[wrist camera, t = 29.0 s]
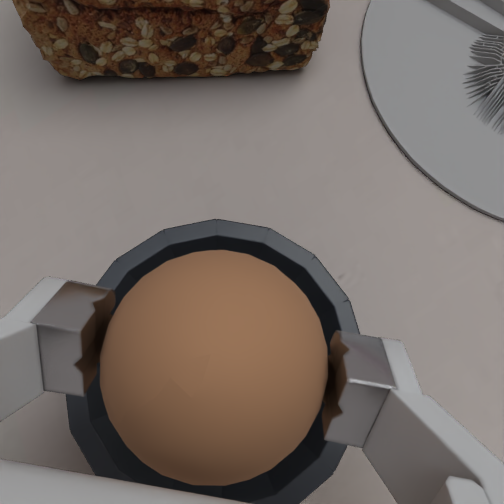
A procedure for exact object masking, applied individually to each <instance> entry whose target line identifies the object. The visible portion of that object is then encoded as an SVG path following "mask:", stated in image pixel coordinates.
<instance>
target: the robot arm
mask: <svg viewBox="0 0 504 504" xmlns="http://www.w3.org/2000/svg"><path fill="white" fill-rule="evenodd" d="M115 305H116V298H115V291H114V290H113V289H111V288H106V287H101V286H96V285H91V284H87V283H82V282H77V281H72V280H71V281H69V280H66V279H61V278H56V277H51V276H49V277H45V278H43V279H42V280H41V281H40V282H39V283H38V284H37V285H36V286H35V287H34V288H33V289H32V290H31V291H30V292H29V293H28V294H27V295H26V296H25V297H24V298H23V299H22V300H21V301H20V302H19V303H18V304H17V305H16V306H15V307H14V308H13V309H12V310H11V311H10V312H9V313H8V314H7V315H6V316H5V317H3V318H0V422H1V421H2V420H4V419H5V418H7V417H8V416H10V415H11V414H13V413H14V412H16V411H17V410H19V409H20V408H22V407H23V406H25V405H26V404H28V403H29V402H31V401H32V400H34V399H35V398H37V397H38V396H40V395H41V394H43V393H44V391H49V392H56V393H62V394H69V395H76V396H82V397H84V395H85V394H86V392H87V390H88V388H89V387H90V385H91V383H92V381H93V379H94V378H95V376H96V374H97V363H99V362H100V353H101V350H102V346H103V343H104V339H105V335H106V332H107V328H108V325H109V323H110V321H111V319H112V317H113V315H112V314H111V311H112V309H113V308H114V306H115ZM330 349H331V354H330V355H328V379H327V383H326V388H325V392H324V396H323V400H322V401H323V402H324V404H325V406H324V409H323V412H322V424H323V434H324V440H326V441H331V442H336V443H340V444H345V445H350V446H355V447H360V448H363V449H362V451H363V452H364V454H365V455H366V457H367V458H368V460H369V461H370V463H371V464H372V466H373V467H374V469H375V470H376V472H377V473H378V475H379V476H380V478H381V479H382V481H383V482H384V484H385V485H386V487H387V488H388V490H389V491H390V493H391V494H392V496H393V497H394V499H395V500H396V502H397V503H398V504H504V463H503V462H502V461H501V460H500V459H499V458H498V457H496V456H495V455H494V454H493V453H492V452H491V451H490V450H489V449H488V448H487V447H485V446H484V445H483V444H482V443H481V442H480V441H479V440H478V439H477V438H476V437H475V436H473V435H472V434H471V433H470V432H469V431H468V430H467V429H466V428H465V427H464V426H462V425H461V424H460V423H459V422H458V421H457V420H456V419H455V418H454V417H453V416H452V415H450V414H449V413H448V412H447V411H446V410H445V409H444V408H443V407H442V406H441V405H439V404H438V403H437V402H436V401H435V400H434V399H433V398H432V397H431V396H428V395H423V393H422V390H421V387H420V385H419V382H418V380H417V377H416V374H415V372H414V369H413V367H412V364H411V361H410V359H409V356H408V354H407V351H406V348H405V346H404V343H403V342H401V341H400V340H395V339H388V338H382V337H378V338H377V337H371V336H366V335H360V334H355V333H349V332H344V331H338V330H336V331H335V332H334V334H333V336H332V339H331V342H330ZM0 504H251V503H246V502H240V501H235V500H229V499H223V498H218V497H212V496H207V495H201V494H195V493H190V492H184V491H179V490H173V489H168V488H162V487H156V486H151V485H145V484H140V483H134V482H128V481H123V480H117V479H112V478H106V477H100V476H95V475H89V474H84V473H78V472H72V471H67V470H61V469H56V468H50V467H44V466H39V465H33V464H28V463H22V462H16V461H11V460H5V459H0Z"/></svg>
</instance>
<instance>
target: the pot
mask: <svg viewBox="0 0 504 504" xmlns="http://www.w3.org/2000/svg"><path fill="white" fill-rule="evenodd" d="M208 250H227V251H233V252H238V253H244V254H249V255H251V256H254V257H256V258H258V259H260V260H262V261H265V262H267V263H269V264H271V265H274V266H275V267H276V268H277V269H279V270H280V271H281V272H282V273H283V274H284V275H286V276H287V277H288V278H289V279H290V280H292V281H293V282H294V283H295V284H296V285H297V286H298V287H299V288H300V289H301V291H302V292H303V293H304V294H305V295H306V296H307V298H308V300H309V302H310V303H311V305H312V307H313V309H314V310H315V312H316V314H317V316H318V317H319V319H320V323H321V327H322V330H323V334H324V338H325V341H326V345H327V356H328V355H330V354H331V349H330V342H331V339H332V336H333V334H334V332H335V331H336V330H338V331H344V332H349V333H355V334H360V332H359V329H358V325H357V322H356V319H355V316H354V312H353V309H352V306H351V302H350V301H349V300H348V299H349V298H348V297H347V295H346V294H345V293H344V292H343V290H342V289H341V288H340V286H339V285H338V284H337V283H336V281H335V280H334V279H333V277H332V276H331V275H330V274H329V272H328V271H327V270H326V268H325V267H324V266H323V265H322V263H321V262H320V261H319V260H318V258H317V257H316V256H315V255H314V254H312V253H311V252H309V251H307V250H306V249H304V248H302V247H301V246H299V245H297V244H296V243H294V242H292V241H291V240H289V239H287V238H286V237H284V236H282V235H281V234H279V233H277V232H276V231H274V230H272V229H271V228H267V227H262V226H256V225H250V224H244V223H238V222H232V221H226V220H221V219H217V220H216V219H212V220H207V221H203V222H198V223H193V224H188V225H183V226H178V227H173V228H168V229H164V230H162V231H160V232H158V233H157V234H155V235H154V236H152V237H150V238H149V239H147V240H146V241H144V242H143V243H141V244H139V245H138V246H136V247H135V248H133V249H132V250H130V251H128V252H127V253H125V254H124V255H122V256H120V257H119V258H117V259H116V260H115V261H114V262H113V263H112V264H111V266H110V267H109V268H108V270H107V271H106V272H105V274H104V275H103V276H102V278H101V279H100V280H99V282H98V283H97V284H96V286H101V287H106V288H111V289H113V290H114V291H115V298H116V305H115V306H114V308H113V309H112V311H111V314H112V315H114V313H115V311H116V309H117V307H118V306H119V304H120V302H121V301H122V299H123V297H124V296H125V295H126V294H127V293H128V292H129V291H130V290H131V289H132V288H133V287H134V286H135V284H136V283H137V282H138V281H139V280H140V279H141V278H142V277H143V276H145V275H146V274H148V273H149V272H151V271H152V270H154V269H156V268H157V267H159V266H160V265H162V264H163V263H165V262H166V261H169V260H172V259H175V258H178V257H181V256H184V255H187V254H190V253H193V252H200V251H208ZM66 401H67V410H68V419H69V427H70V430H71V434H72V435H73V437H74V439H75V440H76V442H77V444H78V446H79V447H80V449H81V451H82V453H83V454H84V456H85V458H86V459H87V461H88V463H89V465H90V466H91V468H92V470H93V472H94V473H95V475H96V476H100V477H106V478H112V479H117V480H123V481H128V482H134V483H140V484H145V485H151V486H156V487H162V488H168V489H173V490H179V491H184V492H190V493H195V494H201V495H207V496H212V497H218V498H223V499H229V500H235V501H240V502H246V503H251V504H299V503H301V502H302V501H303V500H304V499H305V498H306V497H307V496H309V495H310V494H311V493H312V492H313V491H314V490H315V489H317V488H318V487H319V486H320V485H321V484H322V483H323V482H325V481H326V480H327V479H328V478H329V477H330V476H331V475H333V472H334V471H335V470H336V468H337V466H338V464H339V462H340V460H341V458H342V456H343V454H344V452H345V450H346V447H347V445H345V444H340V443H336V442H331V441H326V440H324V434H323V424H322V412H323V409H324V406H325V404H324V402H323V401H322V404H321V408H320V410H319V412H318V414H317V416H316V418H315V420H314V422H313V424H312V425H311V427H310V429H309V431H308V433H307V435H306V437H305V438H304V439H303V440H302V441H301V443H300V444H299V445H298V446H297V447H296V448H295V450H294V451H293V452H291V453H290V454H289V455H288V456H286V457H285V458H284V459H283V460H282V461H280V462H279V463H278V464H277V465H276V466H274V467H273V468H272V469H271V470H269V471H266V472H264V473H262V474H260V475H258V476H256V477H254V478H251V479H249V480H246V481H242V482H238V483H234V484H230V485H226V486H217V485H191V484H188V483H185V482H182V481H179V480H176V479H173V478H169V477H166V476H163V475H161V474H160V473H158V472H157V471H155V470H154V469H152V468H151V467H149V466H148V465H146V464H145V463H143V462H142V461H141V460H140V459H139V458H138V457H137V456H136V455H135V454H134V453H133V452H132V451H131V450H130V449H129V448H128V447H127V446H126V444H125V443H124V441H123V440H122V438H121V437H120V435H119V434H118V432H117V430H116V429H115V427H114V426H113V424H112V423H111V421H110V420H109V416H108V413H107V410H106V407H105V404H104V401H103V397H102V392H101V388H100V362H99V363H97V374H96V376H95V378H94V379H93V381H92V383H91V385H90V387H89V388H88V390H87V392H86V394H85V395H84V397H82V396H76V395H69V394H66Z"/></svg>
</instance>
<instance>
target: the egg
mask: <svg viewBox="0 0 504 504" xmlns="http://www.w3.org/2000/svg"><path fill="white" fill-rule="evenodd" d="M327 379H328V356H327V345H326V341H325V338H324V334H323V330H322V327H321V323H320V319H319V317H318V316H317V314H316V312H315V310H314V309H313V307H312V305H311V303H310V302H309V300H308V298H307V296H306V295H305V294H304V293H303V292H302V291H301V289H300V288H299V287H298V286H297V285H296V284H295V283H294V282H293V281H292V280H290V279H289V278H288V277H287V276H286V275H284V274H283V273H282V272H281V271H280V270H279V269H277V268H276V267H275V266H274V265H271V264H269V263H267V262H265V261H262V260H260V259H258V258H256V257H254V256H251V255H249V254H244V253H238V252H233V251H227V250H208V251H200V252H193V253H190V254H187V255H184V256H181V257H178V258H175V259H172V260H169V261H166V262H165V263H163V264H162V265H160V266H159V267H157V268H156V269H154V270H152V271H151V272H149V273H148V274H146V275H145V276H143V277H142V278H141V279H140V280H139V281H138V282H137V283H136V284H135V286H134V287H133V288H132V289H131V290H130V291H129V292H128V293H127V294H126V295H125V296H124V297H123V299H122V301H121V302H120V304H119V306H118V307H117V309H116V311H115V313H114V315H113V317H112V319H111V321H110V323H109V325H108V328H107V332H106V335H105V339H104V343H103V346H102V350H101V353H100V388H101V392H102V397H103V401H104V404H105V407H106V410H107V413H108V416H109V420H110V421H111V423H112V424H113V426H114V427H115V429H116V430H117V432H118V434H119V435H120V437H121V438H122V440H123V441H124V443H125V444H126V446H127V447H128V448H129V449H130V450H131V451H132V452H133V453H134V454H135V455H136V456H137V457H138V458H139V459H140V460H141V461H142V462H143V463H145V464H146V465H148V466H149V467H151V468H152V469H154V470H155V471H157V472H158V473H160V474H161V475H163V476H166V477H169V478H173V479H176V480H179V481H182V482H185V483H188V484H191V485H217V486H226V485H230V484H234V483H238V482H242V481H246V480H249V479H251V478H254V477H256V476H258V475H260V474H262V473H264V472H266V471H269V470H271V469H272V468H273V467H274V466H276V465H277V464H278V463H279V462H280V461H282V460H283V459H284V458H285V457H286V456H288V455H289V454H290V453H291V452H293V451H294V450H295V448H296V447H297V446H298V445H299V444H300V443H301V441H302V440H303V439H304V438H305V437H306V435H307V433H308V431H309V429H310V427H311V425H312V424H313V422H314V420H315V418H316V416H317V414H318V412H319V410H320V408H321V404H322V400H323V396H324V392H325V388H326V383H327Z"/></svg>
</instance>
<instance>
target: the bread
mask: <svg viewBox="0 0 504 504" xmlns="http://www.w3.org/2000/svg"><path fill="white" fill-rule="evenodd" d="M12 1H13V3H14V6H15V8H16V10H17V12H18V14H19V16H20V18H21V21H22V24H23V27H24V28H25V29H26V30H27V31H28V32H29V33H30V34H31V38H32V40H33V41H34V43H35V45H36V46H37V47H38V48H39V49H40V51H41V54H42V57H43V59H44V60H47V61H49V62H50V64H51V65H52V66H53V67H54V69H55V70H57V71H58V72H59V73H60V74H62V75H64V76H68V77H72V78H75V79H78V80H82V79H84V78H86V77H88V76H95V75H103V76H122V77H128V78H143V77H147V78H153V77H181V76H197V77H208V76H229V75H232V74H235V73H251V72H253V71H256V72H265V71H267V70H284V69H285V70H295V69H300V68H302V67H304V66H306V65H307V64H308V62H309V61H310V59H311V57H312V52H313V51H316V48H318V41H320V40H321V36H322V33H323V27H324V24H325V22H326V17H327V12H328V10H329V8H330V4H329V0H12Z"/></svg>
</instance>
